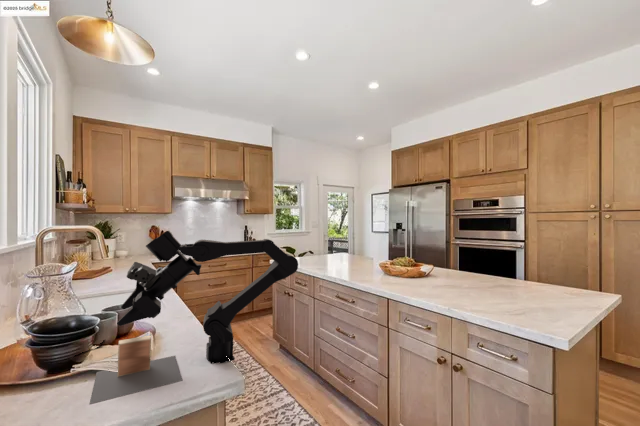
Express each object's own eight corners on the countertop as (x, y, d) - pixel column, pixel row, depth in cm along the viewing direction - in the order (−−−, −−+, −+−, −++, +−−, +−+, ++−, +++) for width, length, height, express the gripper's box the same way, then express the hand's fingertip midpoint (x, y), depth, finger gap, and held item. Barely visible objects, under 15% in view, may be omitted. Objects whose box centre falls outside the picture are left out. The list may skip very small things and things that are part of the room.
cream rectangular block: (149, 364, 78) (150, 334, 78) (150, 369, 76) (151, 338, 76) (117, 371, 74) (119, 340, 74) (117, 377, 72) (118, 344, 72)
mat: (175, 357, 84) (175, 355, 84) (182, 382, 71) (182, 380, 71) (96, 374, 74) (96, 371, 74) (89, 407, 61) (89, 404, 61)
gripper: (151, 244, 84) (101, 282, 80) (149, 264, 68) (86, 313, 64) (178, 270, 89) (132, 307, 85) (182, 294, 73) (126, 342, 68)
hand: (120, 315), depth 75 cm, fingers open, 9 cm apart
